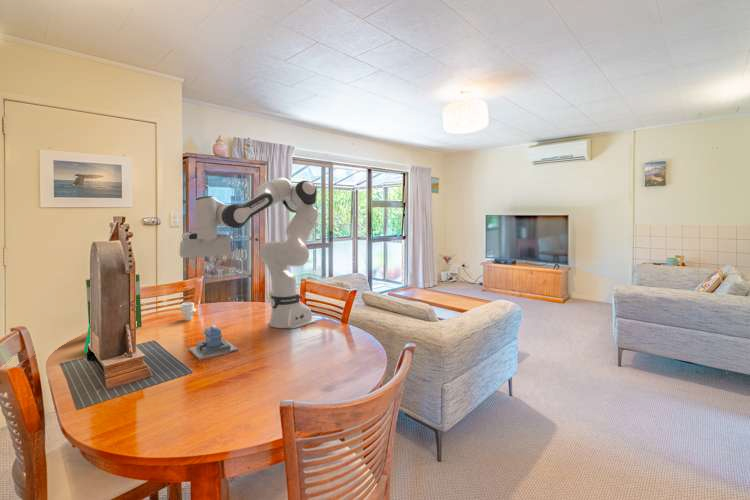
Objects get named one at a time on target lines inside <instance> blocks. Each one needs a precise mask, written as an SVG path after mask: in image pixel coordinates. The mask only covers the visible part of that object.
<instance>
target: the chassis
mask: <svg viewBox="0 0 750 500" xmlns="http://www.w3.org/2000/svg"><path fill="white" fill-rule="evenodd" d="M238 350H239V349H238V347H236V346H234V344H232V343H231V342H230V341H228V340H227V339H226V340H224V339H223V338H221V346H218V347H214V348H209V349H208V348H207V347H206V340H204V341H199V342H196V346H192V347H189V352H191V354H193V355H194V356H195V357H196V359H198V360H200V361H201V360H204V359H208V358H212V357H216V356H221V355H226V354H229V353H234V352H237V351H238Z"/></svg>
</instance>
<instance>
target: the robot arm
mask: <svg viewBox="0 0 750 500" xmlns="http://www.w3.org/2000/svg"><path fill="white" fill-rule="evenodd" d="M317 192H318V190H317V187H316V185H315V184H314V183H313V181H310V180H309V179H305V180H301V181H299V182H298V183H297V184H296V185H295V186H294V185H292V184H291V182H290V180H289V179H287V178H285V177H278V178H277V177H276V178H275V179H271V180H268V181H266V182H264V183H262V184H260V185H259V186H257V187H256V188H255V189H254V193H253V195H254V198H252V199H250V200H248V201H246V202H244V203H233V204H226V203H224V202H221V201H220V200H218V199H216V198H215V197H214V196H213V195H207V196H199V197H196V199H194V203H193V220H194V225H193V230H192V231H188V232H184V233H183V234H181V238H182V240H181V241H180V242H179V243H180V244H179V256H180V257H181V258H183V259H186V258H189V261H190V263H191V265H192V269H198V263H195V258H204V257H205V258H206V257H217V261H215V266H216V267H221V263H222V260H223V259H224V256H230V255H231V254H232V247H231V241H232V238H231V236H230V235H229V234H225V233H223V234H222V233H220V234H219V233H218V226H220V227H225V228H226V227H228V228H233V229H240V228H242V227H244V226H246V224H247V223H248V221H249V220H250V219H251V218H253V217H254V216H255V215H257V214H259V213H260V212H262V211H263V210H265V209H268V208H269V207H272V206H274V205H277V204H279V203H280V202H282V203H281V204H283V205H284V207H285V209H287V210H288V211H289V212H290V213H293V214H294V213H295V214H294V216H293V217H292V219H291V220H290V222H289V223H288V225H287V226H286V228H285V234H286V237H287V239H286V241H268V242H265V243H263V244H261V246H260V249H259V258H260V259H261V261H262V262H263V263H264V264H265V265H266V267H267V269H268V271H269V274H270V279H271V295H270V296H271V297H270V304H271V313H270V317H269V322H268V326H269V327H272V328H277V329H296V328H300V327H303V326H306V325H311V324H313V323H314V324H315V323H317V318H316V317H315V316H313V315H312V310H311V308H310V307H309V306H307V305H306V304H305V303H303V302H302V301H300V300H304V295H303V294H298V293H297V279H296V276H295V275H294V274H293V273H292V272H291V270H290V269H289V267H301V266H304V265H306V264H307V262H308V261H309V258H310V252H309V249H308V247H307V245H306V243H307V240H308V239H309V236H310V234H311V233H312V231H313V230H314V227H315V225H316V224H317V220H318V218H319V212H318V209H317V208H316V207H314V205H315V203H317V202H316V201H317Z"/></svg>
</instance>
